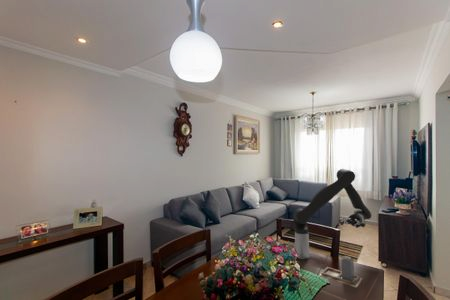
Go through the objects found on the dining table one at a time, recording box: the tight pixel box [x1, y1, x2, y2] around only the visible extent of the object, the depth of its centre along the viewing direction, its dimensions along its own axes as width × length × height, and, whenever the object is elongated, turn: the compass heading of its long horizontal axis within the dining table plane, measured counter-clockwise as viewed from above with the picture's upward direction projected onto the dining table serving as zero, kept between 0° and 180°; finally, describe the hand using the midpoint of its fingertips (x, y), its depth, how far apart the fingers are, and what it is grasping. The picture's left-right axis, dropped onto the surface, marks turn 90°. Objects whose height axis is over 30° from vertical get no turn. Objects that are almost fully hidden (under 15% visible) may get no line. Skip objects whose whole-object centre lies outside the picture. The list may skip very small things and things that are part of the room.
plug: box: [340, 255, 355, 282], centre depth 132 cm, size 5×5×12 cm
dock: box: [318, 266, 363, 288], centre depth 135 cm, size 20×12×2 cm, turn 47°
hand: (348, 224), depth 144 cm, fingers open, 8 cm apart
